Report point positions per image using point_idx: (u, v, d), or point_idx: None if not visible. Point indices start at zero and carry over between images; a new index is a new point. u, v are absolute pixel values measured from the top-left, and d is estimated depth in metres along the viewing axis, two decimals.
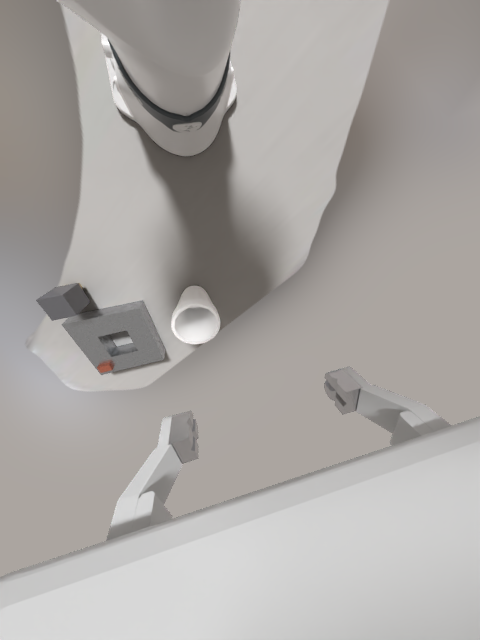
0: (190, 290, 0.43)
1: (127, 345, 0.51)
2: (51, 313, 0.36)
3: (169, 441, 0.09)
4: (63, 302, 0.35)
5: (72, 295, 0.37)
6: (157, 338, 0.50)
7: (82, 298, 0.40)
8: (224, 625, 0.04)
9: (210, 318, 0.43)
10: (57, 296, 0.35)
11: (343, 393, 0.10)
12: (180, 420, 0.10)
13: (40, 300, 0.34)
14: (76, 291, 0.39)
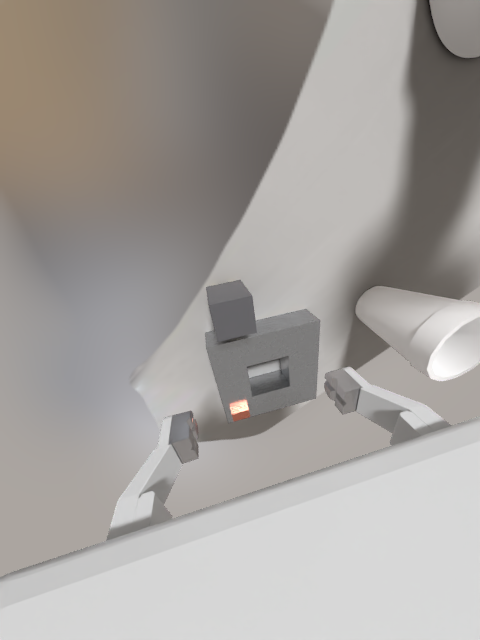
0: (398, 291, 0.27)
1: (263, 376, 0.34)
2: (222, 330, 0.20)
3: (169, 441, 0.09)
4: (247, 309, 0.20)
5: None
6: None
7: None
8: (224, 625, 0.04)
9: None
10: (242, 298, 0.19)
11: (343, 393, 0.10)
12: (180, 420, 0.10)
13: (215, 305, 0.19)
14: None
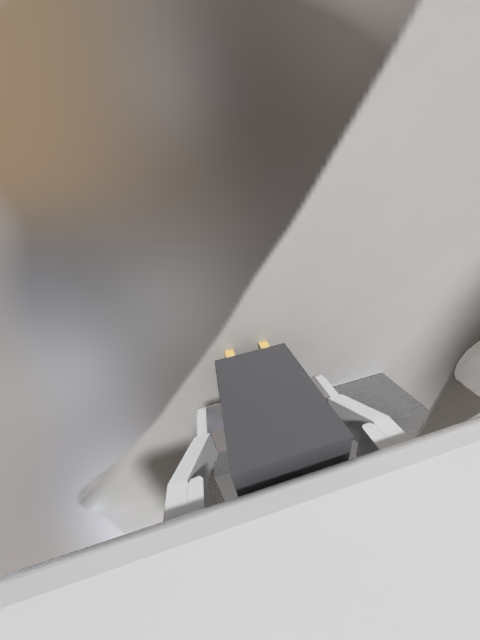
0: None
1: None
2: None
3: (208, 430, 0.09)
4: (333, 462, 0.07)
5: None
6: None
7: None
8: (224, 625, 0.04)
9: None
10: (326, 443, 0.07)
11: None
12: (215, 410, 0.10)
13: (249, 473, 0.06)
14: None
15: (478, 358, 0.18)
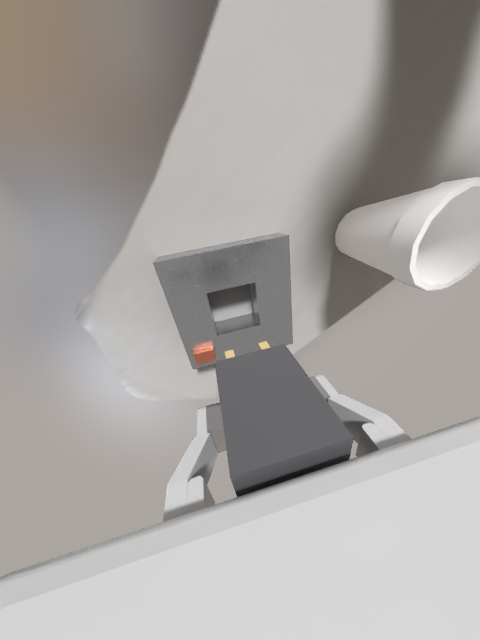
0: None
1: (233, 319, 0.31)
2: None
3: (208, 430, 0.09)
4: (333, 463, 0.07)
5: None
6: None
7: None
8: (224, 625, 0.04)
9: (421, 252, 0.23)
10: (326, 445, 0.07)
11: None
12: (215, 410, 0.10)
13: (249, 474, 0.06)
14: None
15: (342, 224, 0.27)
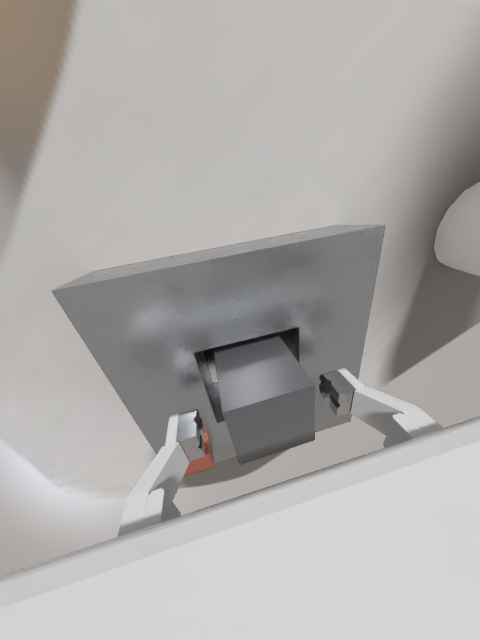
0: None
1: None
2: (248, 446, 0.10)
3: (177, 439, 0.09)
4: (302, 408, 0.09)
5: None
6: None
7: None
8: (224, 625, 0.04)
9: None
10: (294, 391, 0.09)
11: (337, 395, 0.10)
12: (187, 418, 0.10)
13: (236, 411, 0.09)
14: None
15: (462, 208, 0.14)
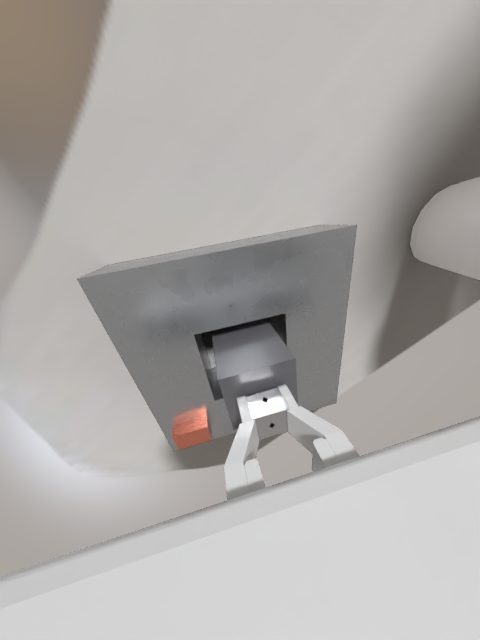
0: None
1: None
2: None
3: (252, 417, 0.09)
4: (285, 379, 0.11)
5: None
6: None
7: None
8: (224, 625, 0.04)
9: None
10: (278, 363, 0.11)
11: None
12: (255, 399, 0.10)
13: (229, 379, 0.10)
14: None
15: (432, 210, 0.15)
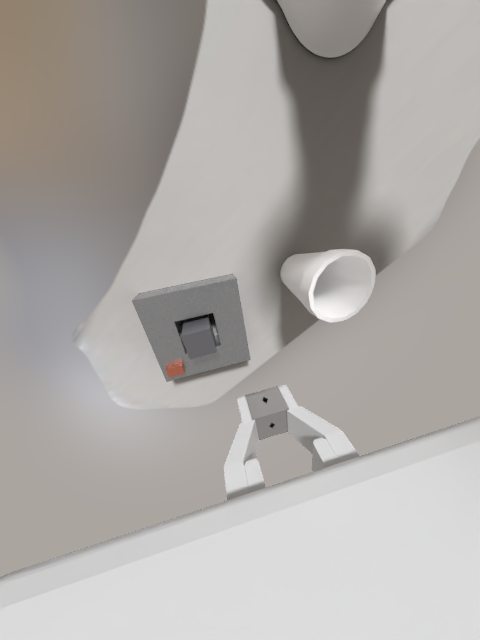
0: (305, 253, 0.31)
1: None
2: (191, 351, 0.30)
3: (252, 417, 0.09)
4: (208, 337, 0.30)
5: None
6: None
7: (212, 331, 0.34)
8: (224, 625, 0.04)
9: (336, 291, 0.30)
10: (204, 330, 0.29)
11: None
12: (255, 399, 0.10)
13: (185, 336, 0.29)
14: (210, 323, 0.33)
15: (283, 266, 0.34)
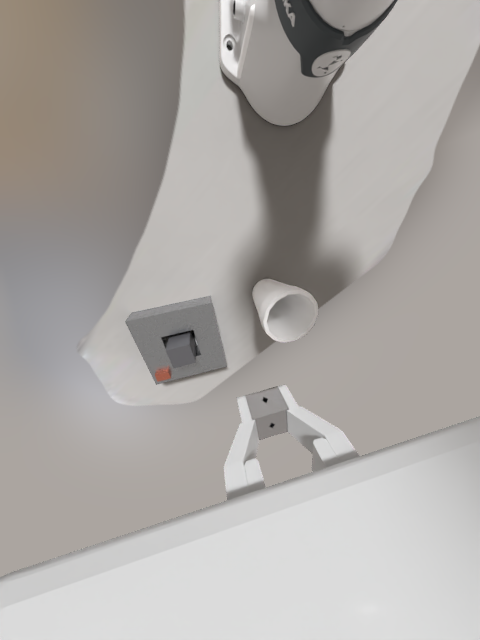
0: (270, 281, 0.37)
1: None
2: (175, 362, 0.37)
3: (252, 417, 0.09)
4: (187, 351, 0.36)
5: (191, 342, 0.38)
6: None
7: (193, 344, 0.41)
8: (224, 625, 0.04)
9: (294, 314, 0.37)
10: (184, 346, 0.36)
11: None
12: (255, 399, 0.10)
13: (169, 350, 0.36)
14: (191, 338, 0.40)
15: (253, 289, 0.41)
